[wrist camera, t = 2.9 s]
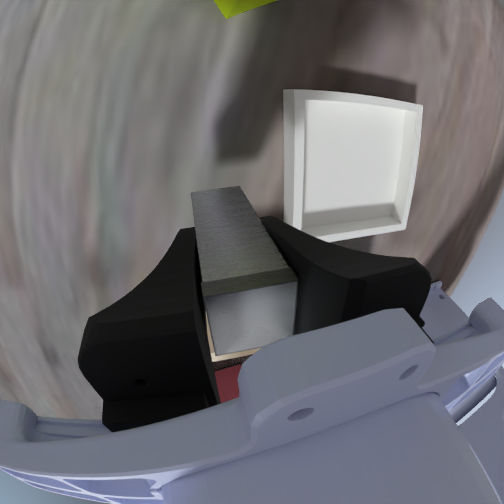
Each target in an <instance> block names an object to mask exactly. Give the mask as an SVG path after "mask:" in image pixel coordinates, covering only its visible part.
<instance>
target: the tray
mask: <svg viewBox="0 0 504 504" xmlns="http://www.w3.org/2000/svg"><path fill="white" fill-rule="evenodd" d="M283 112H284V219H283V222H285V223H287V224H289V225H291V226H293V227H295V228H297V229H299V230H301V231H303V232H305V233H307V234H309V235H312V236H314V237H316V238H319V239H321V240H324V241H326V242H334V241H340V240H346V239H352V238H358V237H364V236H369V235H375V234H381V233H387V232H393V231H399V230H405V228H406V224H407V219H408V214H409V210H410V205H411V199H412V194H413V188H414V182H415V176H416V169H417V162H418V155H419V146H420V137H421V126H422V112H423V105H418V104H414V103H409V102H404V101H399V100H393V99H388V98H382V97H375V96H368V95H361V94H353V93H343V92H333V91H319V90H300V89H283Z"/></svg>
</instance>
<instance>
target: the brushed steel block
mask: <svg viewBox="0 0 504 504" xmlns="http://www.w3.org/2000/svg"><path fill="white" fill-rule="evenodd" d="M191 199H192V207H193V216H194V224H195V231H196V239H197V246H198V254H199V261H200V267H201V274H202V281H203V282H201V286H202V293H203V299H204V304H205V309H206V314H207V319H208V324H209V329H210V334H211V338H212V343H213V347H214V352H215V356H220V355H226V354H231V353H236V352H242V351H247V350H252V349H256V348H261V347H262V346H265V345H268V344H270V343H273V342H275V341H278V340H280V339H283V338H285V337H288V336H293V335H294V326H295V316H296V305H297V295H298V283H299V279H298V277H297V276H296V274H295V272H294V271H293V269H292V267H288V265H287V264H286V262H285V260H284V258H283V257H282V255H281V253H280V252H279V250H278V248H277V247H276V245H275V243H274V242H273V240H272V238H271V237H270V235H269V233H268V232H267V230H266V228H265V227H264V225H263V224H262V222H261V221H260V218H259V217H258V215H257V213H256V212H255V210H254V209H253V207H252V205H251V204H250V202H249V200H248V199H247V197H246V195H245V194H244V192H243V191H242V189H241V187H240V186H234V187H226V188H218V189H211V190H204V191H197V192H191Z"/></svg>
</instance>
